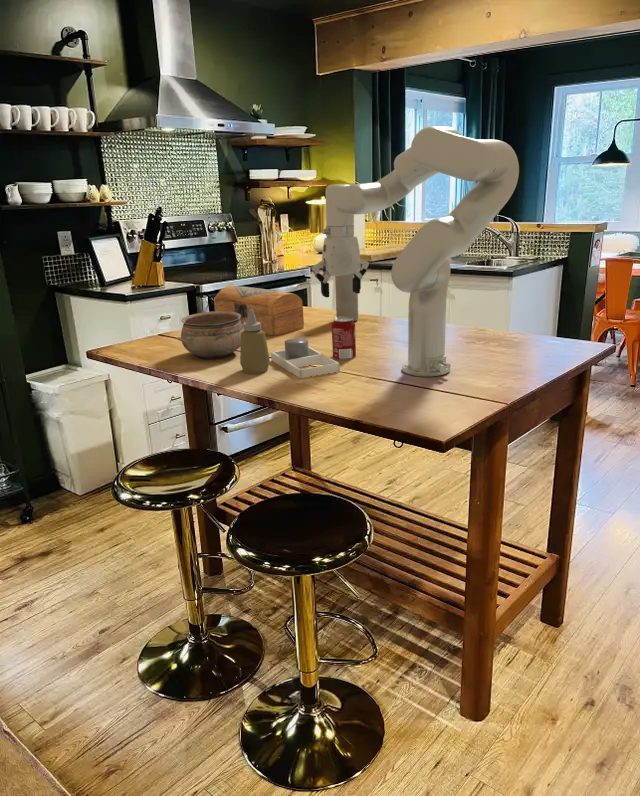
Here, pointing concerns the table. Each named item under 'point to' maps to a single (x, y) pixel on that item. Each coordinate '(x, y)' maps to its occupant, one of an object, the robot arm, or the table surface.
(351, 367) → the table surface
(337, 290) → the thermos bottle
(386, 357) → the table surface
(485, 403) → the table surface
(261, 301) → the wooden box
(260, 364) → the squeeze bottle
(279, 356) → the caddy
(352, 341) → the soda can
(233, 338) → the cooking pot
